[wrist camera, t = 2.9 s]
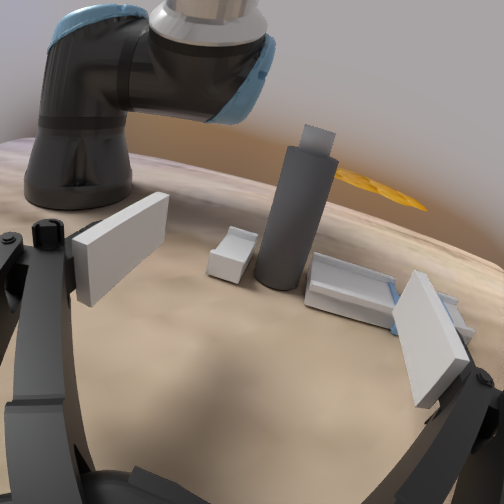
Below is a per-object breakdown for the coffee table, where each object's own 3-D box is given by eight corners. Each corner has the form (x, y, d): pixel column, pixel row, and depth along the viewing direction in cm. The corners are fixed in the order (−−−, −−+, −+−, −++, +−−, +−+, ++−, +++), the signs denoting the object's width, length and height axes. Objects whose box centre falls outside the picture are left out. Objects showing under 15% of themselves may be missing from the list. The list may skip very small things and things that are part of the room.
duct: (203, 277, 24) (207, 255, 23) (228, 242, 31) (232, 223, 30) (466, 352, 22) (477, 336, 21) (446, 309, 28) (454, 294, 28)
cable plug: (249, 280, 25) (292, 121, 19) (258, 259, 29) (296, 121, 23) (296, 295, 25) (348, 138, 19) (299, 272, 29) (343, 135, 23)
